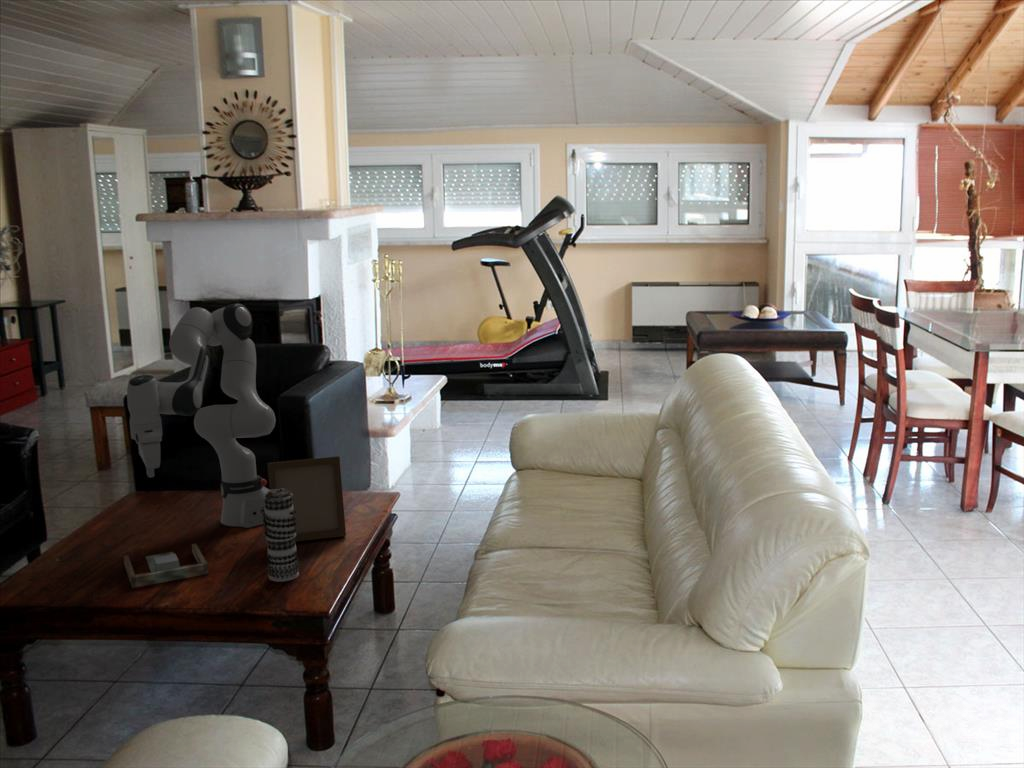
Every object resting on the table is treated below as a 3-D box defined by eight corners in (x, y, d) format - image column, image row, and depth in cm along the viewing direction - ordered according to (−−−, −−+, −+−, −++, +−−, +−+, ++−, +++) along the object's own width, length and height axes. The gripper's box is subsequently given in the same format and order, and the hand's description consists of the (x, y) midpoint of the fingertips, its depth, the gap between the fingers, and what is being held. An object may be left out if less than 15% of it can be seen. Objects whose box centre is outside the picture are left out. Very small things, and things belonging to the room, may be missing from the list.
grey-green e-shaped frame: (194, 548, 303) (193, 539, 302) (208, 574, 282) (207, 564, 282) (123, 560, 294) (122, 551, 293) (132, 588, 273) (131, 578, 273)
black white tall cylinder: (286, 567, 286) (280, 483, 281) (307, 574, 280) (301, 489, 275) (260, 577, 279) (253, 491, 274) (281, 584, 273) (274, 497, 268)
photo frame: (346, 538, 308) (341, 460, 303) (274, 547, 302) (268, 467, 298) (341, 524, 322) (336, 449, 317) (272, 532, 316) (266, 456, 312)
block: (176, 566, 288) (175, 553, 287) (179, 573, 283) (178, 560, 282) (154, 570, 285) (153, 557, 285) (157, 577, 280) (156, 564, 279)
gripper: (131, 425, 300) (135, 469, 303) (139, 439, 282) (143, 486, 285) (153, 422, 303) (157, 466, 305) (162, 436, 285) (166, 483, 287)
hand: (150, 476), depth 295 cm, fingers closed
